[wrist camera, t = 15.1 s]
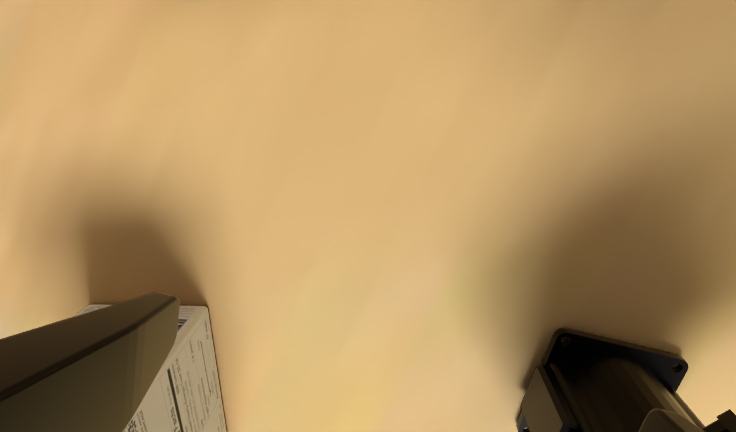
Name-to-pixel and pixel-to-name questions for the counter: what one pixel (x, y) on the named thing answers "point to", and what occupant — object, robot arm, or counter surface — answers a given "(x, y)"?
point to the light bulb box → (182, 381)
